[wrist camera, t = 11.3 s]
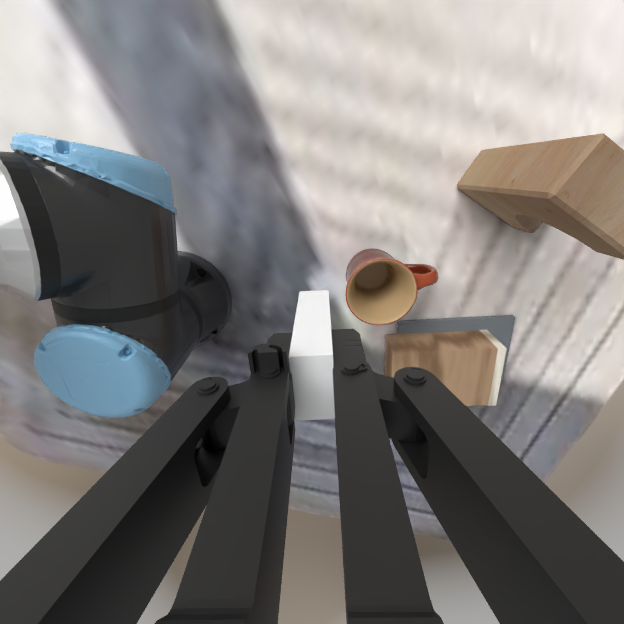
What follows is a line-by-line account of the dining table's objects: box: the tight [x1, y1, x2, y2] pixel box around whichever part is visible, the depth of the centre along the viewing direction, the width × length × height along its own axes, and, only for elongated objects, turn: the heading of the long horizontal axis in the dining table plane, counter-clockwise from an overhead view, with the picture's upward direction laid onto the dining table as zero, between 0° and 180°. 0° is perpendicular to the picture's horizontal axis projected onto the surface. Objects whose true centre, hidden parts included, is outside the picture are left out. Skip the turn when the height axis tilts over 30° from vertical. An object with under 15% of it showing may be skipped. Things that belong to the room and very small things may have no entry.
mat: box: [398, 315, 515, 381], centre depth 54 cm, size 18×12×1 cm, turn 94°
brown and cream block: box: [384, 329, 507, 406], centre depth 52 cm, size 6×10×16 cm
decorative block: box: [457, 134, 624, 259], centre depth 36 cm, size 11×6×20 cm, turn 58°
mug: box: [346, 249, 438, 325], centre depth 45 cm, size 12×9×10 cm
